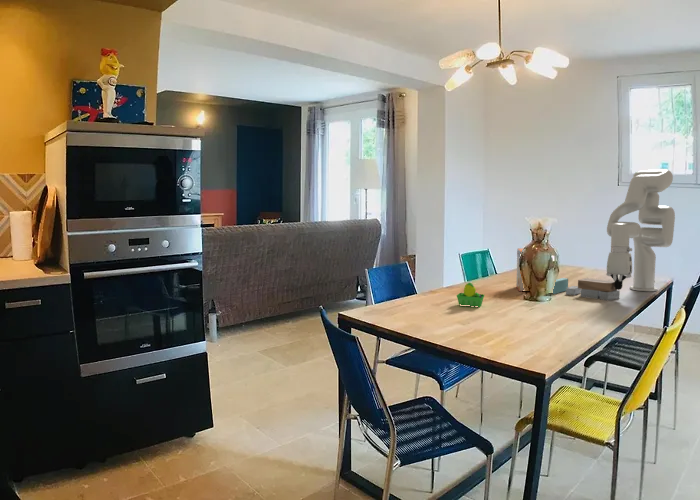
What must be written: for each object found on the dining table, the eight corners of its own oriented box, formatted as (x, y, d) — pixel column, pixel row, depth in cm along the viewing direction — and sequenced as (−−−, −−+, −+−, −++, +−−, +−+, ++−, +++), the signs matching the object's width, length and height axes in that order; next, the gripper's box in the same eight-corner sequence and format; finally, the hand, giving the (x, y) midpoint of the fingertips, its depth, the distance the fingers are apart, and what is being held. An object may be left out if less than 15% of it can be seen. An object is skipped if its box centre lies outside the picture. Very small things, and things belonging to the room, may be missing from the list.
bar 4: (611, 297, 260) (611, 289, 260) (619, 298, 257) (619, 290, 256) (599, 299, 256) (599, 291, 255) (607, 301, 252) (607, 292, 252)
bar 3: (598, 295, 265) (598, 287, 265) (606, 296, 262) (606, 288, 262) (589, 297, 259) (589, 289, 259) (597, 299, 256) (598, 290, 256)
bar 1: (572, 292, 274) (572, 285, 273) (580, 293, 271) (580, 286, 271) (565, 294, 268) (566, 288, 268) (573, 295, 265) (574, 289, 265)
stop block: (562, 289, 281) (562, 277, 280) (567, 290, 279) (568, 278, 278) (548, 293, 272) (548, 281, 271) (554, 294, 269) (554, 282, 269)
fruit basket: (484, 305, 247) (485, 280, 246) (480, 309, 239) (481, 284, 238) (460, 303, 252) (460, 279, 251) (455, 307, 244) (455, 282, 243)
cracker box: (531, 292, 276) (532, 251, 273) (518, 291, 277) (519, 251, 274) (527, 287, 289) (528, 248, 287) (516, 286, 290) (516, 247, 288)
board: (586, 285, 269) (586, 277, 269) (617, 289, 258) (618, 281, 257) (577, 288, 263) (578, 280, 263) (609, 292, 252) (609, 283, 251)
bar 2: (586, 294, 269) (586, 286, 268) (595, 295, 266) (595, 287, 266) (580, 297, 262) (580, 289, 261) (589, 298, 259) (589, 289, 259)
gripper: (640, 250, 248) (638, 290, 250) (606, 248, 259) (605, 286, 261) (633, 251, 243) (632, 292, 245) (599, 249, 254) (598, 288, 256)
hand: (618, 289), depth 253 cm, fingers closed
